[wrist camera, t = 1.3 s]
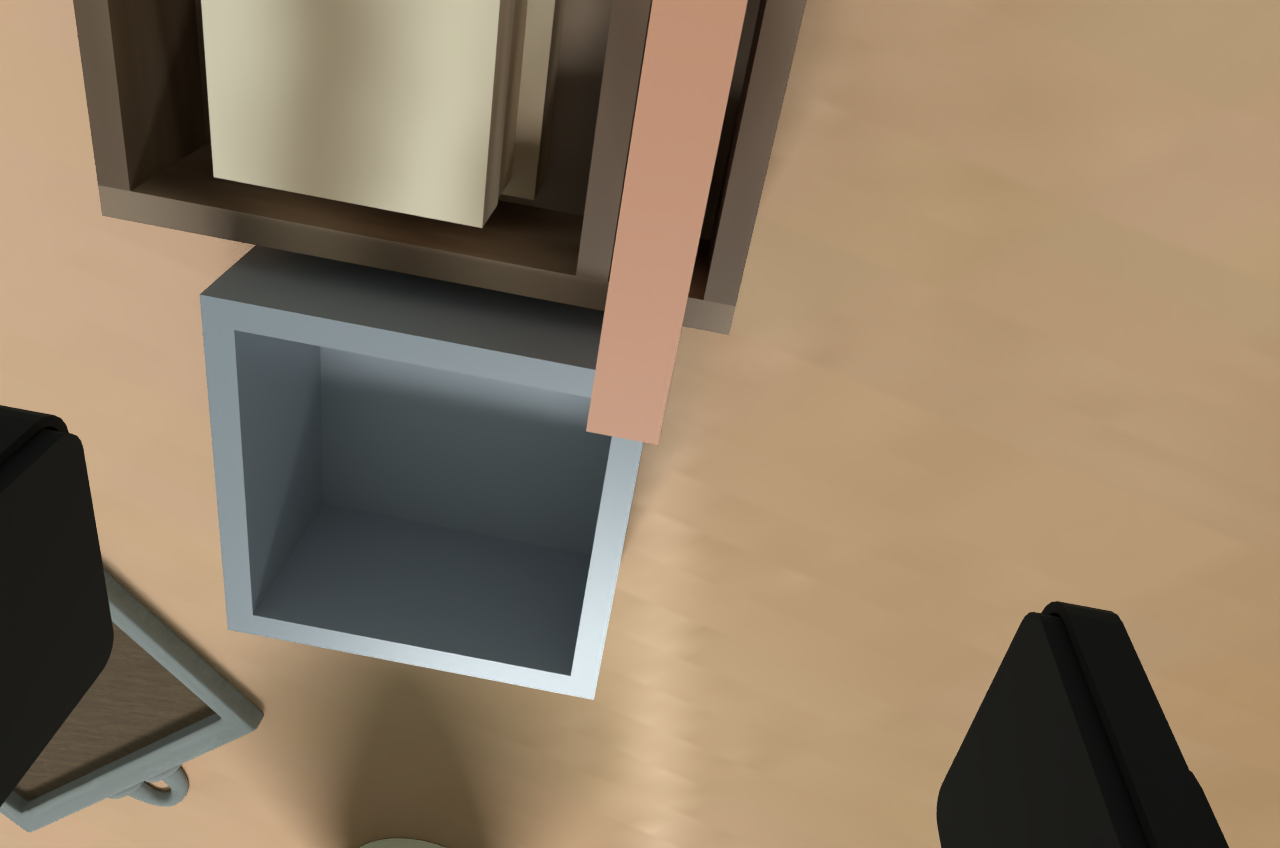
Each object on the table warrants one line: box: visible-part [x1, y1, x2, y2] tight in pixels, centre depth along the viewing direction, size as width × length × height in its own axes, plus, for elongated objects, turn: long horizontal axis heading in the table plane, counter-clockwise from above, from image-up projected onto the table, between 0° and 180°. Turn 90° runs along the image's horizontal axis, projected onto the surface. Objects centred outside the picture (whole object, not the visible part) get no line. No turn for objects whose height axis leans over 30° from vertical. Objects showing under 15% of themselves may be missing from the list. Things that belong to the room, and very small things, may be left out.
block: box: [586, 0, 748, 445], centre depth 26 cm, size 2×10×15 cm, turn 171°
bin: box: [200, 245, 643, 700], centre depth 38 cm, size 14×14×8 cm
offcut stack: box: [201, 0, 565, 228], centre depth 30 cm, size 10×10×6 cm
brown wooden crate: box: [73, 0, 806, 335], centre depth 30 cm, size 20×14×6 cm
